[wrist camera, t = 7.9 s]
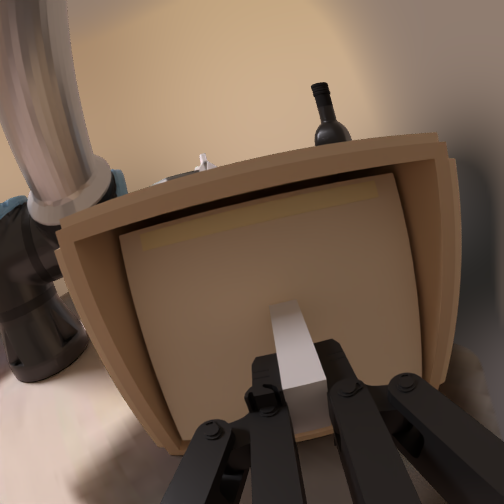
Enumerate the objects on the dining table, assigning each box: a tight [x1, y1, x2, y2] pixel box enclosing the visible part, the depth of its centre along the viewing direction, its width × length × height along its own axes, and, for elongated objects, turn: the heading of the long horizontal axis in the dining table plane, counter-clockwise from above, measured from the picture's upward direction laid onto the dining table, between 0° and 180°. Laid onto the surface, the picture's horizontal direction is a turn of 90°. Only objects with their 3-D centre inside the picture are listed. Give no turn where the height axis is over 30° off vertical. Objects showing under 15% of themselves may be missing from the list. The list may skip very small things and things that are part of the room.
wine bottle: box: [311, 82, 352, 146], centre depth 47 cm, size 6×6×30 cm
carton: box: [54, 132, 461, 455], centre depth 22 cm, size 18×21×18 cm
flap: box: [119, 173, 422, 440], centre depth 16 cm, size 1×17×14 cm, turn 91°
